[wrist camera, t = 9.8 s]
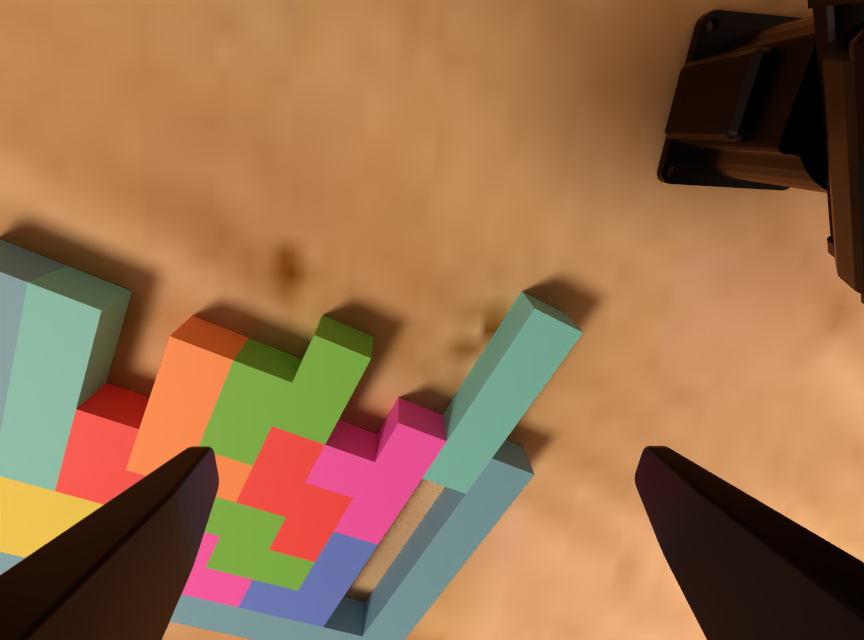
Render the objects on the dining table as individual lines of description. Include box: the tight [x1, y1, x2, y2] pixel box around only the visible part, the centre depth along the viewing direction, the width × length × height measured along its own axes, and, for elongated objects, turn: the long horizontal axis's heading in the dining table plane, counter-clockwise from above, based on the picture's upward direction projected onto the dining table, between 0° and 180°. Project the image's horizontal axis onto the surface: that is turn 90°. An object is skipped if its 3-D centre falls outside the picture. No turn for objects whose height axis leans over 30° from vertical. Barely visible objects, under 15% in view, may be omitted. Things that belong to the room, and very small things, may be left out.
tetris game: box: [0, 239, 583, 640], centre depth 23 cm, size 28×3×28 cm
